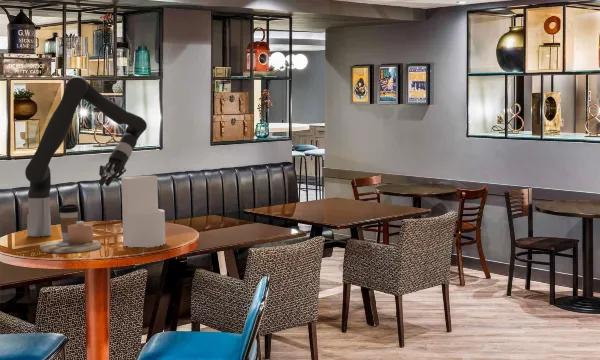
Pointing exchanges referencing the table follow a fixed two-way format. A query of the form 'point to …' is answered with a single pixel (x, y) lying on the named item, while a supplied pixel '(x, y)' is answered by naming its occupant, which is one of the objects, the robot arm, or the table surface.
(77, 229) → the knobbed pink canister
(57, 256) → the table surface
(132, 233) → the grey piece
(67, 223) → the coffee cup
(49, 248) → the serving board
